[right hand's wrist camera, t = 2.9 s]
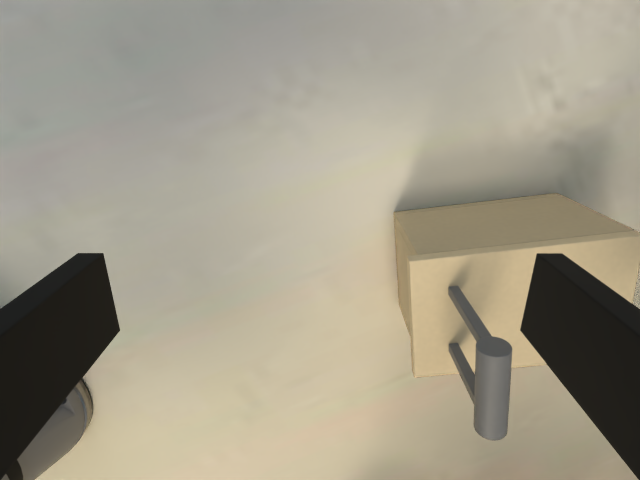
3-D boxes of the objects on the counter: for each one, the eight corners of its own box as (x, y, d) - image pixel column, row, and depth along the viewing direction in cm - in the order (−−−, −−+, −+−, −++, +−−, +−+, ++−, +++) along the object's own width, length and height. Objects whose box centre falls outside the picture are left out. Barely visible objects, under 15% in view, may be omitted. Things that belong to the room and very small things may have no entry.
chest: (398, 304, 40) (421, 368, 31) (393, 211, 37) (417, 253, 28) (547, 288, 40) (613, 349, 31) (557, 192, 36) (634, 229, 27)
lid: (411, 369, 31) (444, 471, 23) (406, 255, 28) (442, 328, 20) (614, 349, 31) (720, 447, 23) (635, 229, 27) (771, 294, 19)
